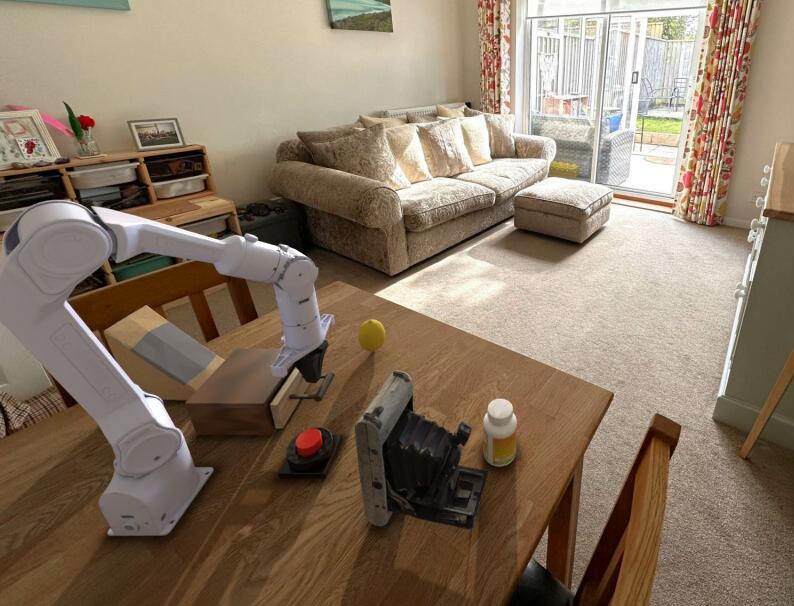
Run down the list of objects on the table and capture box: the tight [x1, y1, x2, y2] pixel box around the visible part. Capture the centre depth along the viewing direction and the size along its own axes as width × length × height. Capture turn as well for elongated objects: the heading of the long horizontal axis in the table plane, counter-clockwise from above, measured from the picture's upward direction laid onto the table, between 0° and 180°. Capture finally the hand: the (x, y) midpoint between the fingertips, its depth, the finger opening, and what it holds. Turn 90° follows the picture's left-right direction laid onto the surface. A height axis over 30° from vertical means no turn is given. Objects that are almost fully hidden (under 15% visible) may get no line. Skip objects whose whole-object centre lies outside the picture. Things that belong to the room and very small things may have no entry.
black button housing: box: [277, 426, 344, 480], centre depth 64 cm, size 7×7×3 cm
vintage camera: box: [354, 369, 489, 531], centre depth 55 cm, size 10×16×20 cm, turn 79°
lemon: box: [357, 319, 386, 352], centre depth 87 cm, size 6×6×8 cm
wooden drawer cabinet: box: [184, 347, 293, 436], centre depth 73 cm, size 13×14×7 cm
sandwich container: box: [103, 305, 226, 401], centre depth 76 cm, size 9×15×15 cm, turn 88°
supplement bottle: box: [482, 398, 518, 468], centre depth 65 cm, size 5×5×10 cm
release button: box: [296, 428, 323, 456], centre depth 63 cm, size 4×4×2 cm
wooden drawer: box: [267, 365, 336, 429], centre depth 73 cm, size 17×12×5 cm
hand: (313, 380), depth 73 cm, fingers closed
